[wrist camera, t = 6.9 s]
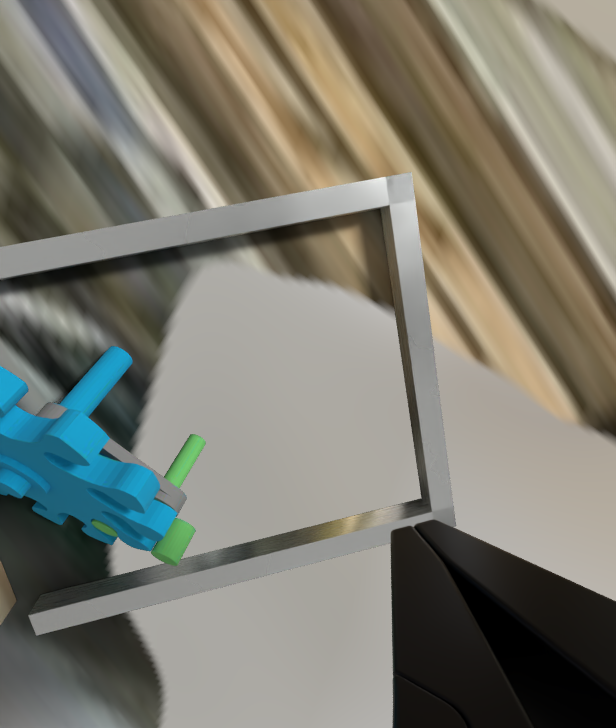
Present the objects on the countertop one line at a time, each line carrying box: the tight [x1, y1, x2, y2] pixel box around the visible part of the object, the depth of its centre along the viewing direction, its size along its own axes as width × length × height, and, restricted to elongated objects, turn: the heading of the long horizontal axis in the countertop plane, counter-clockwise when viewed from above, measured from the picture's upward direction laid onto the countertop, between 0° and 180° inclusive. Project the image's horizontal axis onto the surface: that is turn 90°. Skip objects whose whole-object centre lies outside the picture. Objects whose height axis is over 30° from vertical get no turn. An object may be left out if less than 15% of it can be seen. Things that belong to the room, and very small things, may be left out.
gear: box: [0, 346, 205, 566], centre depth 16 cm, size 11×6×10 cm
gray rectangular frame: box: [0, 172, 456, 636], centre depth 19 cm, size 18×15×1 cm
